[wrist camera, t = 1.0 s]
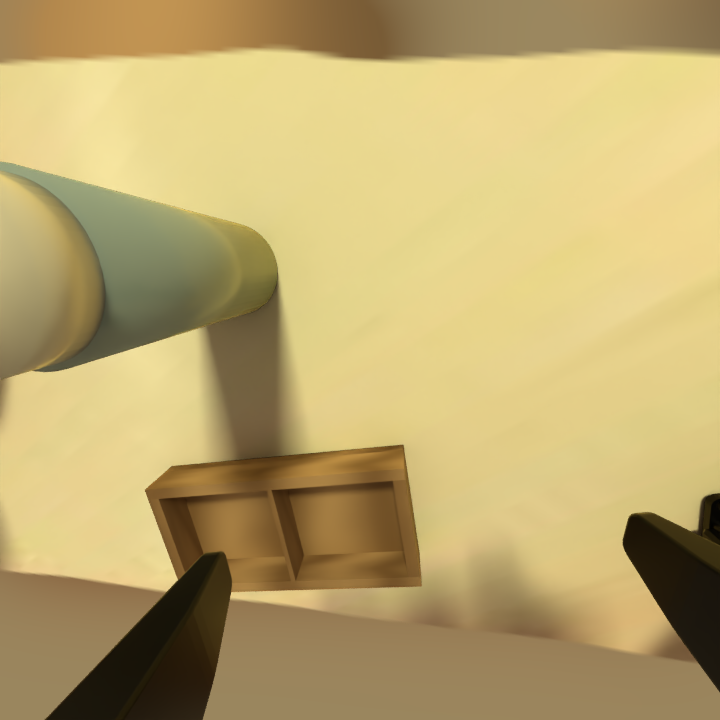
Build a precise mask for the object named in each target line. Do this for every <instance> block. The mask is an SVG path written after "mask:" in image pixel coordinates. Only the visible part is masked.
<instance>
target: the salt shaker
mask: <svg viewBox="0 0 720 720" xmlns="http://www.w3.org/2000/svg"><path fill="white" fill-rule="evenodd" d="M277 275H278V272H277V263H276V259H275V256H274V254H273V251H272V249H271V247H270V246H269V244H268V243H267V241H266V240H265V239H264V238H263V237H262V236H261V235H260V234H259V233H258V232H256V231H255V230H253V229H252V228H249V227H247V226H245V225H241V224H238V223H234V222H230V221H227V220H223V219H219V218H215V217H211V216H208V215H204V214H200V213H196V212H193V211H189V210H185V209H181V208H178V207H174V206H170V205H166V204H163V203H159V202H155V201H151V200H147V199H144V198H140V197H136V196H132V195H129V194H125V193H121V192H117V191H114V190H110V189H106V188H102V187H98V186H95V185H91V184H87V183H83V182H80V181H76V180H72V179H68V178H65V177H61V176H57V175H53V174H50V173H46V172H42V171H38V170H34V169H31V168H27V167H23V166H19V165H16V164H12V163H6V162H0V380H1V379H4V378H8V377H11V376H15V375H18V374H22V373H25V372H29V371H39V372H53V371H60V370H64V369H68V368H71V367H75V366H78V365H81V364H84V363H88V362H91V361H94V360H97V359H101V358H104V357H107V356H110V355H114V354H117V353H120V352H123V351H127V350H130V349H133V348H136V347H140V346H143V345H146V344H149V343H153V342H156V341H159V340H162V339H166V338H169V337H172V336H175V335H179V334H182V333H185V332H188V331H192V330H195V329H198V328H201V327H205V326H208V325H211V324H214V323H218V322H221V321H224V320H227V319H231V318H234V317H237V316H240V315H244V314H247V313H250V312H253V311H255V310H257V309H259V308H261V307H262V306H263V305H264V304H265V303H266V302H267V301H268V300H269V299H270V297H271V296H272V294H273V292H274V290H275V287H276V283H277Z"/></svg>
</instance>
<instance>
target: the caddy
mask: <svg viewBox="0 0 720 720" xmlns="http://www.w3.org/2000/svg"><path fill="white" fill-rule="evenodd" d="M145 492H146V495H147V497H148V500H149V503H150V505H151V508H152V511H153V513H154V516H155V519H156V522H157V524H158V527H159V530H160V532H161V535H162V538H163V540H164V543H165V546H166V549H167V551H168V554H169V557H170V559H171V562H172V565H173V567H174V570H175V573H176V576H177V578H178V579H179V578H180V577H181V576H182V575H183V574H184V573H185V572H186V571H187V570H188V569H189V568H190V567H191V566H192V565H193V564H194V563H195V562H196V561H197V560H198V558H199V557H200V556H202V555H203V554H204V553H207V552H217V551H223V552H224V553H225V555H226V558H227V562H228V565H229V569H230V573H231V577H232V590H231V592H245V591H279V590H313V589H346V588H380V587H413V586H422V585H421V570H420V556H419V547H418V540H417V533H416V527H415V520H414V513H413V507H412V500H411V493H410V487H409V480H408V473H407V466H406V460H405V453H404V446H403V445H396V446H385V447H374V448H363V449H352V450H342V451H331V452H320V453H309V454H299V455H288V456H277V457H266V458H255V459H245V460H234V461H223V462H212V463H202V464H191V465H180V466H172V467H170V468H169V469H168V470H167V471H166V472H165V473H164V474H162V475H161V476H160V477H159V478H158V479H157V480H156V481H155V482H153V483H152V484H151V485H150V486H149V487H148V488H147V489H145Z"/></svg>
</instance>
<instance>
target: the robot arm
mask: <svg viewBox="0 0 720 720" xmlns="http://www.w3.org/2000/svg"><path fill="white" fill-rule="evenodd" d="M623 547H624V550H625V552H626V554H627V556H628V557H629V559H630V560H631V562H632V564H633V565H634V567H635V568H636V570H637V572H638V573H639V575H640V576H641V578H642V580H643V581H644V583H645V584H646V586H647V587H648V589H649V591H650V592H651V594H652V595H653V597H654V599H655V600H656V602H657V603H658V605H659V607H660V608H661V610H662V611H663V613H664V615H665V616H666V618H667V619H668V621H669V622H670V624H671V625H672V627H673V628H674V630H675V631H676V633H677V634H678V636H679V637H680V638H681V640H682V641H683V643H684V644H685V645H686V647H687V648H688V649H689V651H690V652H691V654H692V655H693V656H694V658H695V659H696V660H697V662H698V663H699V664H700V666H701V667H702V669H703V670H704V671H705V673H706V674H707V675H708V677H709V678H710V679H711V681H712V682H713V684H714V685H715V686H716V688H717V689H718V690H719V692H720V493H718V494H712V495H710V496H708V497H707V498H706V501H705V508H704V518H703V528H702V537H701V536H699V535H697V534H695V533H693V532H691V531H689V530H687V529H685V528H683V527H681V526H679V525H677V524H675V523H673V522H671V521H669V520H667V519H665V518H663V517H660V516H658V515H656V514H654V513H650V512H643V513H634V514H631V515H630V516H629V518H628V521H627V525H626V529H625V533H624V537H623ZM231 590H232V577H231V573H230V569H229V565H228V562H227V558H226V555H225V553H224V552H223V551H217V552H207V553H204V554H203V555H202V556H200V557H199V558H198V560H197V561H196V562H195V563H194V564H193V565H192V566H191V567H190V568H189V569H188V570H187V571H186V572H185V573H184V574H183V575H182V576H181V577H180V578H179V579H178V581H177V582H176V583H175V584H174V585H173V586H172V587H171V588H170V589H169V590H168V591H167V592H166V593H165V594H164V595H163V596H162V597H161V598H160V600H159V601H158V602H157V603H156V604H155V605H154V606H153V607H152V608H151V609H150V610H149V611H148V612H147V613H146V614H145V615H144V616H143V617H142V618H141V619H140V620H139V622H138V623H137V624H136V625H135V626H134V627H133V628H132V629H131V630H130V631H129V632H128V633H127V634H126V635H125V636H124V637H123V638H122V639H121V640H120V641H119V642H118V644H117V645H116V646H115V647H114V648H113V649H112V650H111V651H110V652H109V653H108V654H107V655H106V656H105V657H104V658H103V659H102V660H101V661H100V662H99V663H98V664H97V666H96V667H95V668H94V669H93V670H92V671H91V672H90V673H89V674H88V675H87V676H86V677H85V678H84V679H83V680H82V681H81V682H80V684H79V685H77V687H76V688H75V689H74V690H73V691H72V692H71V693H70V694H69V695H68V696H67V697H66V698H65V699H64V700H63V701H62V702H61V704H59V705H58V707H57V708H56V709H55V710H54V711H53V712H52V713H51V714H50V715H49V716H48V717H47V718H46V719H45V720H203V716H204V713H205V709H206V706H207V702H208V699H209V695H210V691H211V688H212V684H213V680H214V676H215V672H216V667H217V663H218V658H219V652H220V647H221V642H222V637H223V632H224V626H225V621H226V616H227V611H228V606H229V601H230V595H231Z"/></svg>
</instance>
